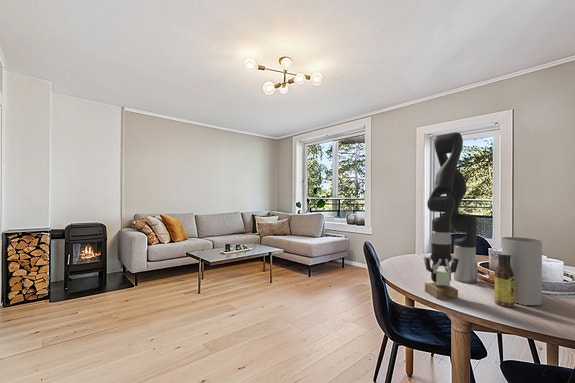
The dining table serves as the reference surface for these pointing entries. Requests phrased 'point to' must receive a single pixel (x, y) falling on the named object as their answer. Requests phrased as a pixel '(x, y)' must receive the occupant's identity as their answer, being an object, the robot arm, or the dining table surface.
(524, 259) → the cylinder vase
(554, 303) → the dining table surface
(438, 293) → the walnut base
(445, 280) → the green cube
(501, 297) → the sauce bottle
